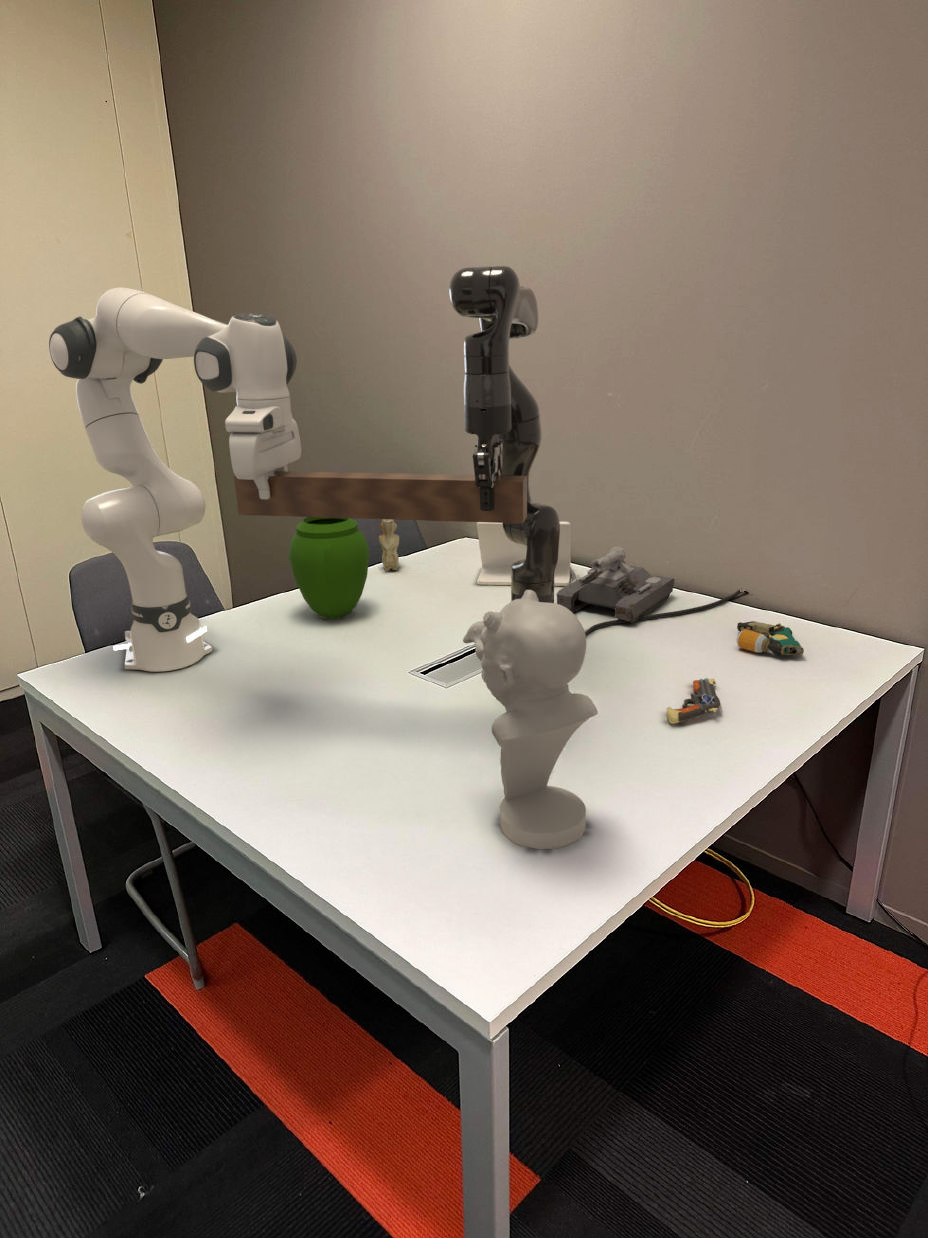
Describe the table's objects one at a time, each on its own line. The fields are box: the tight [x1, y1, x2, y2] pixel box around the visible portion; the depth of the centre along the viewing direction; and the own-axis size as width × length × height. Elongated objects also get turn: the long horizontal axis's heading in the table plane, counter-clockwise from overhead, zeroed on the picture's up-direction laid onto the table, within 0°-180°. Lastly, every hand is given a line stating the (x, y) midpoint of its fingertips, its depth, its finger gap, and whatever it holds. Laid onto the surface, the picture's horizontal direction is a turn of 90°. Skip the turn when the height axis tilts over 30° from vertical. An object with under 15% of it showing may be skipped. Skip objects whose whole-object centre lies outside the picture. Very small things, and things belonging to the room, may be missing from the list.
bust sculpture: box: [462, 590, 599, 850], centre depth 124 cm, size 16×24×35 cm
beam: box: [233, 470, 527, 524], centre depth 146 cm, size 51×4×7 cm, turn 78°
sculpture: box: [378, 519, 400, 572], centre depth 246 cm, size 6×7×15 cm
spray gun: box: [736, 620, 805, 657], centre depth 187 cm, size 4×17×15 cm
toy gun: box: [666, 677, 722, 724], centre depth 161 cm, size 3×19×10 cm
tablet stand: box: [476, 521, 572, 587], centre depth 236 cm, size 18×25×17 cm
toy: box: [556, 546, 676, 624], centre depth 212 cm, size 25×20×15 cm
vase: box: [288, 517, 370, 620], centre depth 209 cm, size 20×20×24 cm
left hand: (273, 494), depth 150 cm, fingers closed on beam, 4 cm apart
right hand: (490, 506), depth 142 cm, fingers closed on beam, 4 cm apart
